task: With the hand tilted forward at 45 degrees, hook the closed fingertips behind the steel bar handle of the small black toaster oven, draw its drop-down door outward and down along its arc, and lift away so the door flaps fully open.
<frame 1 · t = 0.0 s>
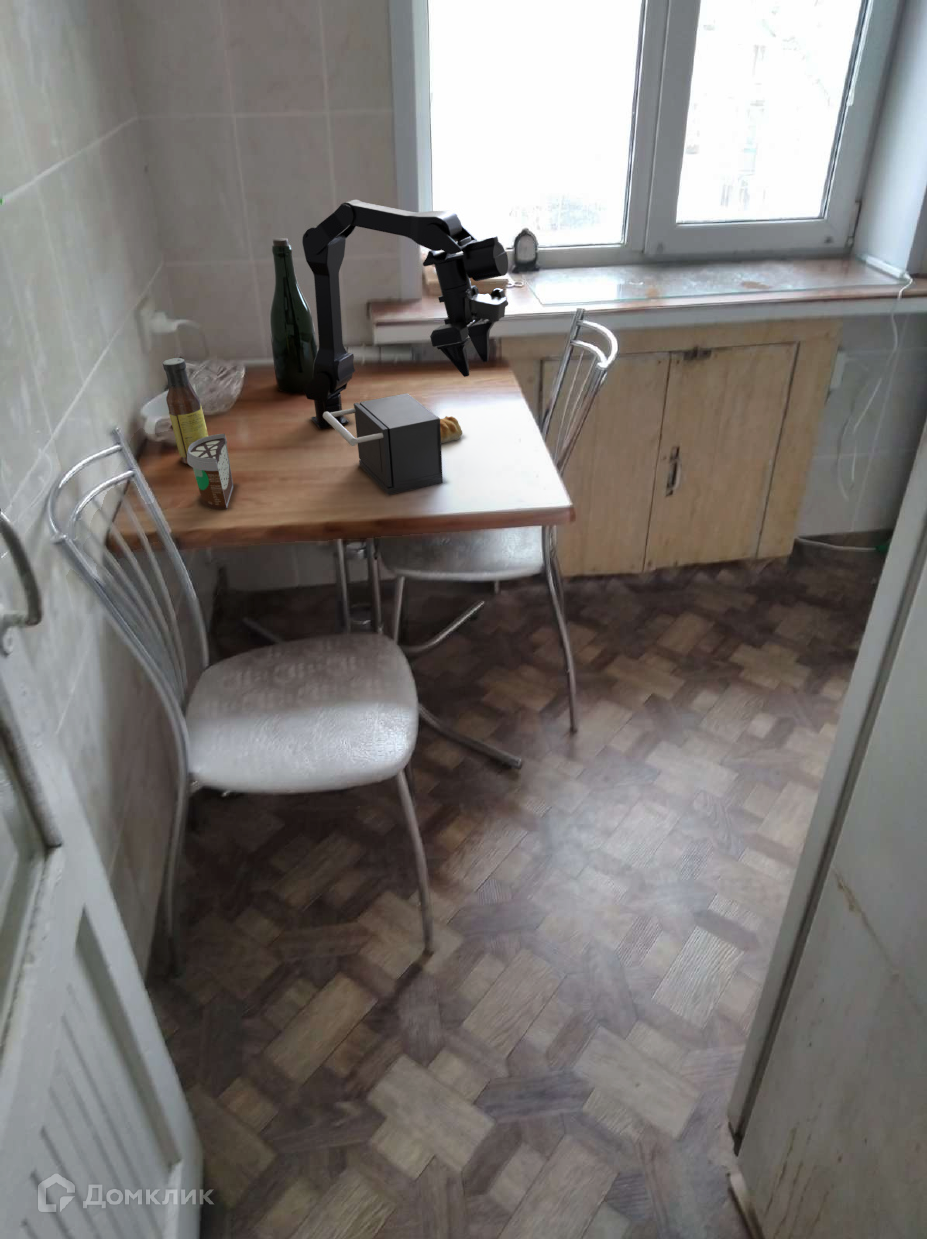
hand: (476, 368, 174), 15 cm above the table, tool pointing down, fingers open, 9 cm apart
oven door: (356, 447, 165), point 7 cm above the table, hinge at 0.0°
food container: (213, 499, 165), on the table
green wine bottle: (299, 387, 214), on the table
oven: (400, 473, 172), on the table
sauce bottle: (196, 460, 180), on the table
pastry: (440, 439, 186), on the table
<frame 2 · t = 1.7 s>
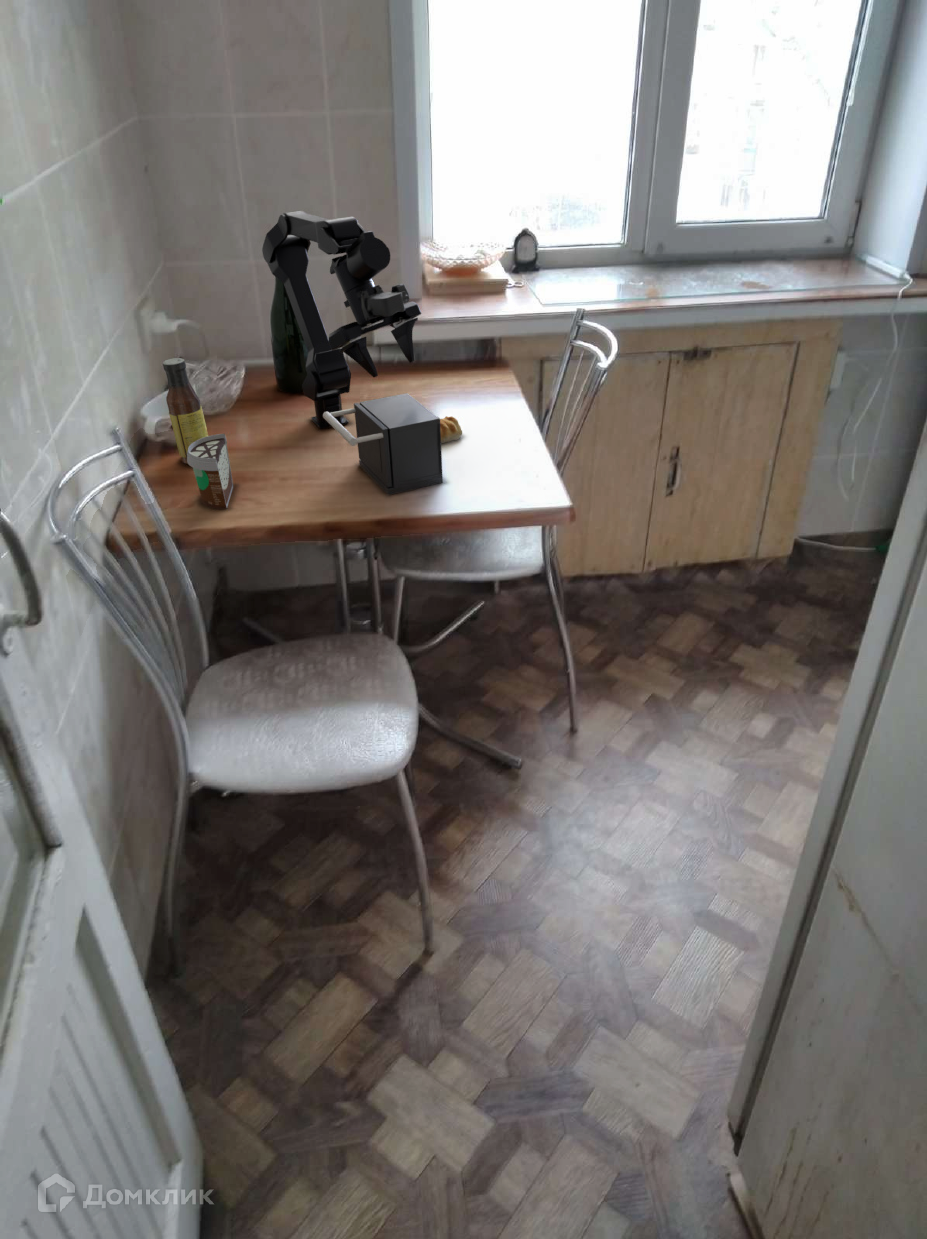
hand: (394, 369, 170), 17 cm above the table, tool tilted 30°, fingers open, 9 cm apart
nothing on the table moved.
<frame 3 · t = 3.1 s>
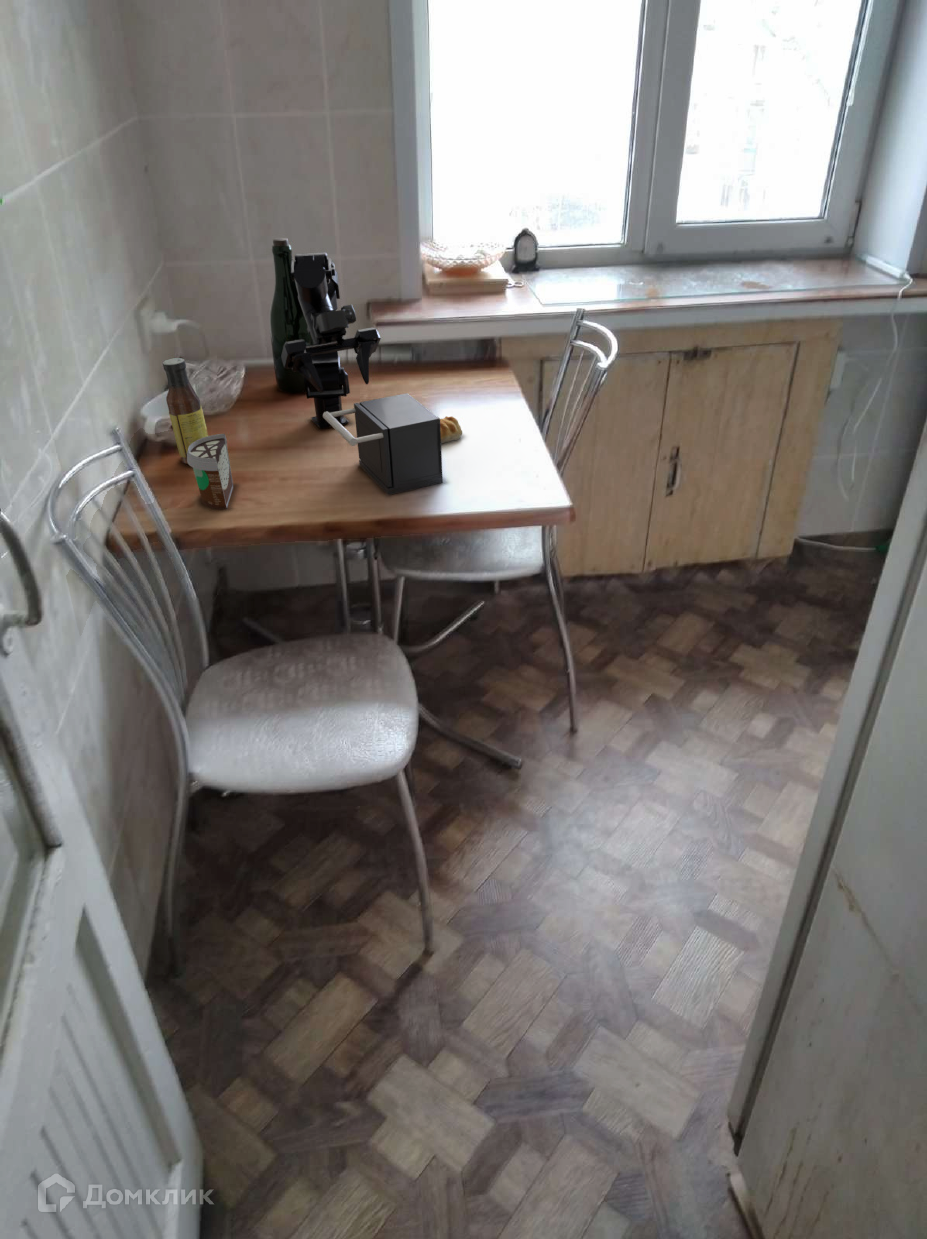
hand: (345, 387, 173), 14 cm above the table, tool tilted 45°, fingers open, 9 cm apart
nothing on the table moved.
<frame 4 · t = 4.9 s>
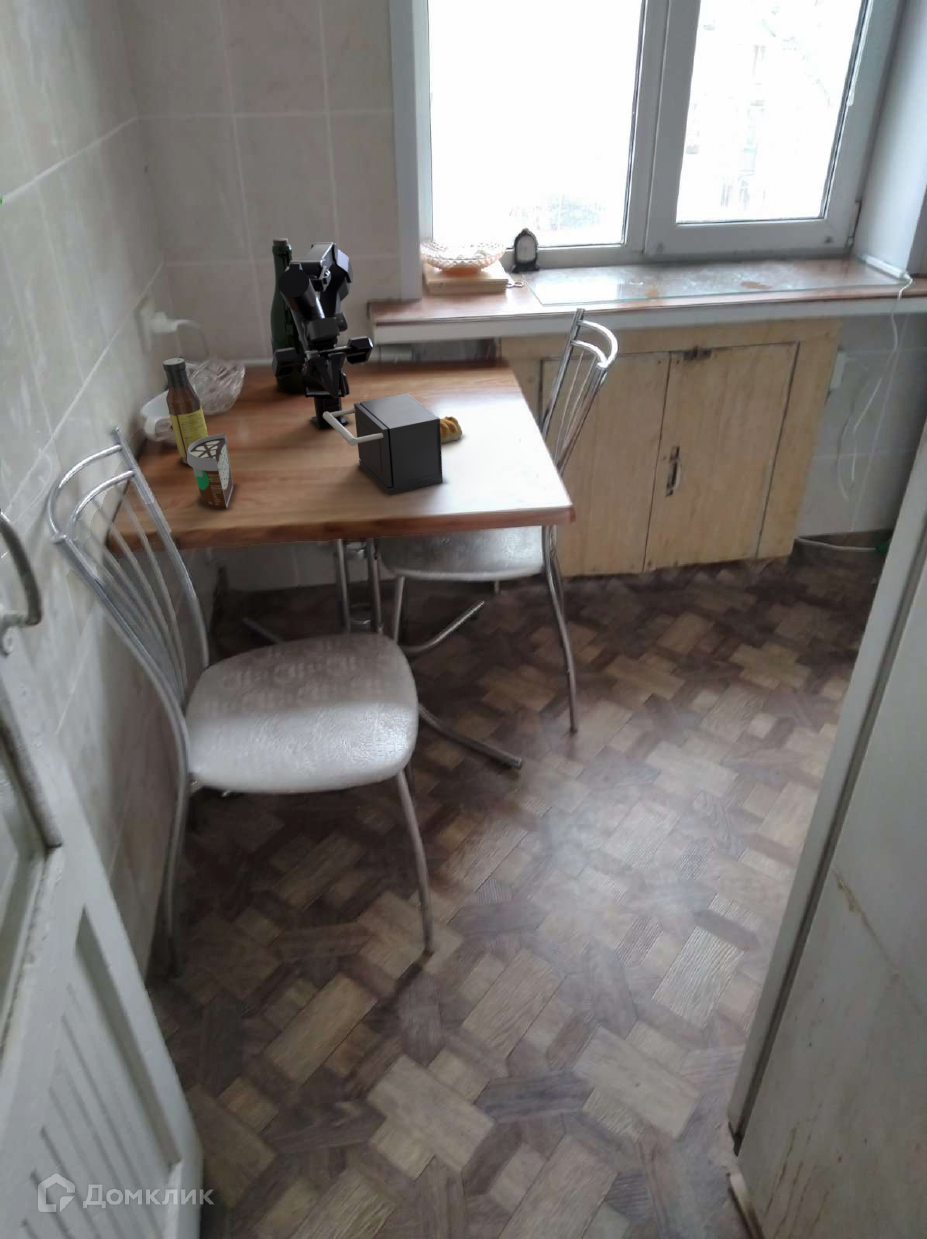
hand: (336, 396, 170), 13 cm above the table, tool tilted 45°, fingers closed
nothing on the table moved.
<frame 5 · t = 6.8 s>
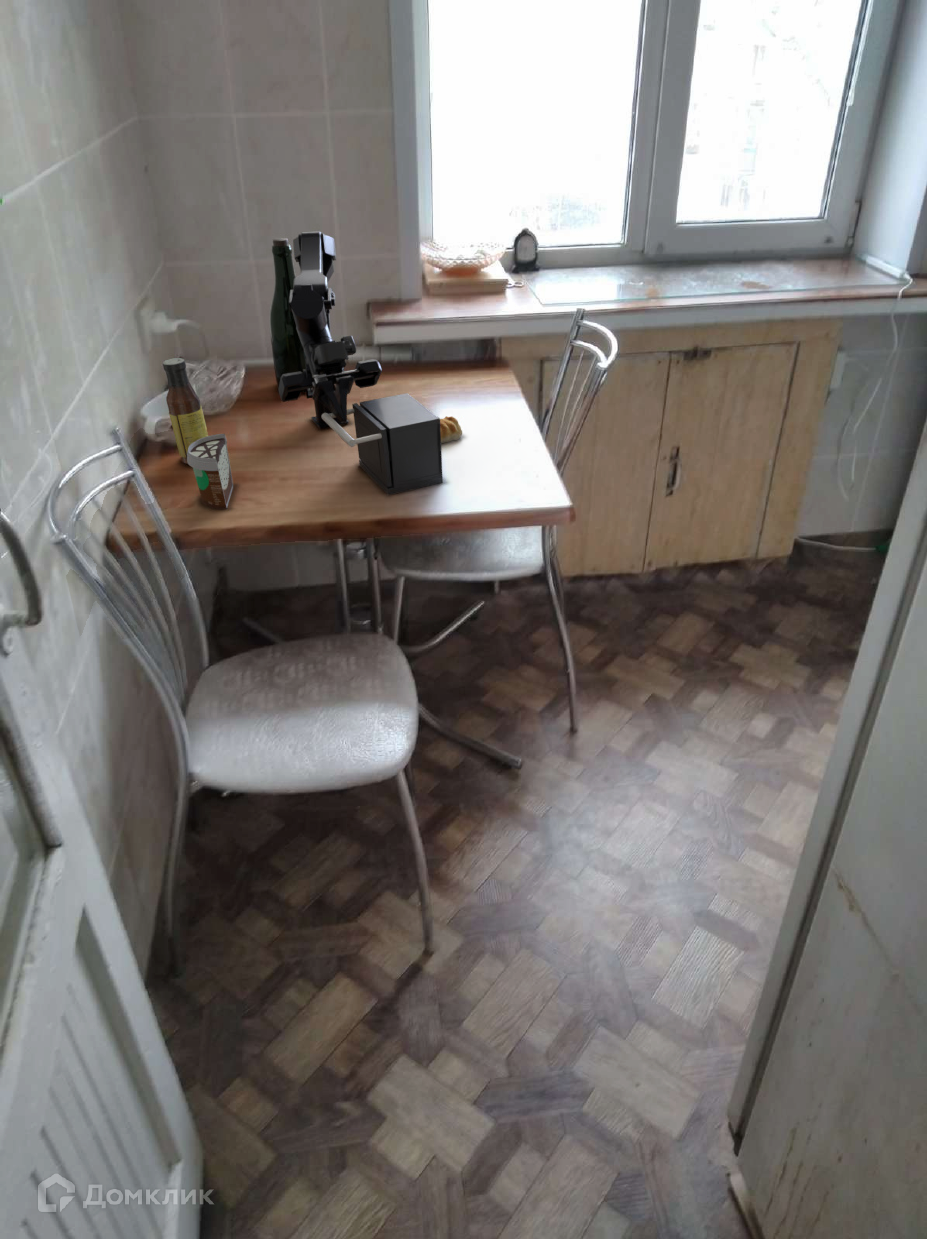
hand: (344, 421, 166), 11 cm above the table, tool tilted 45°, fingers closed
oven door: (356, 448, 165), point 7 cm above the table, hinge at 1.6°, touching gripper
everything else where it was.
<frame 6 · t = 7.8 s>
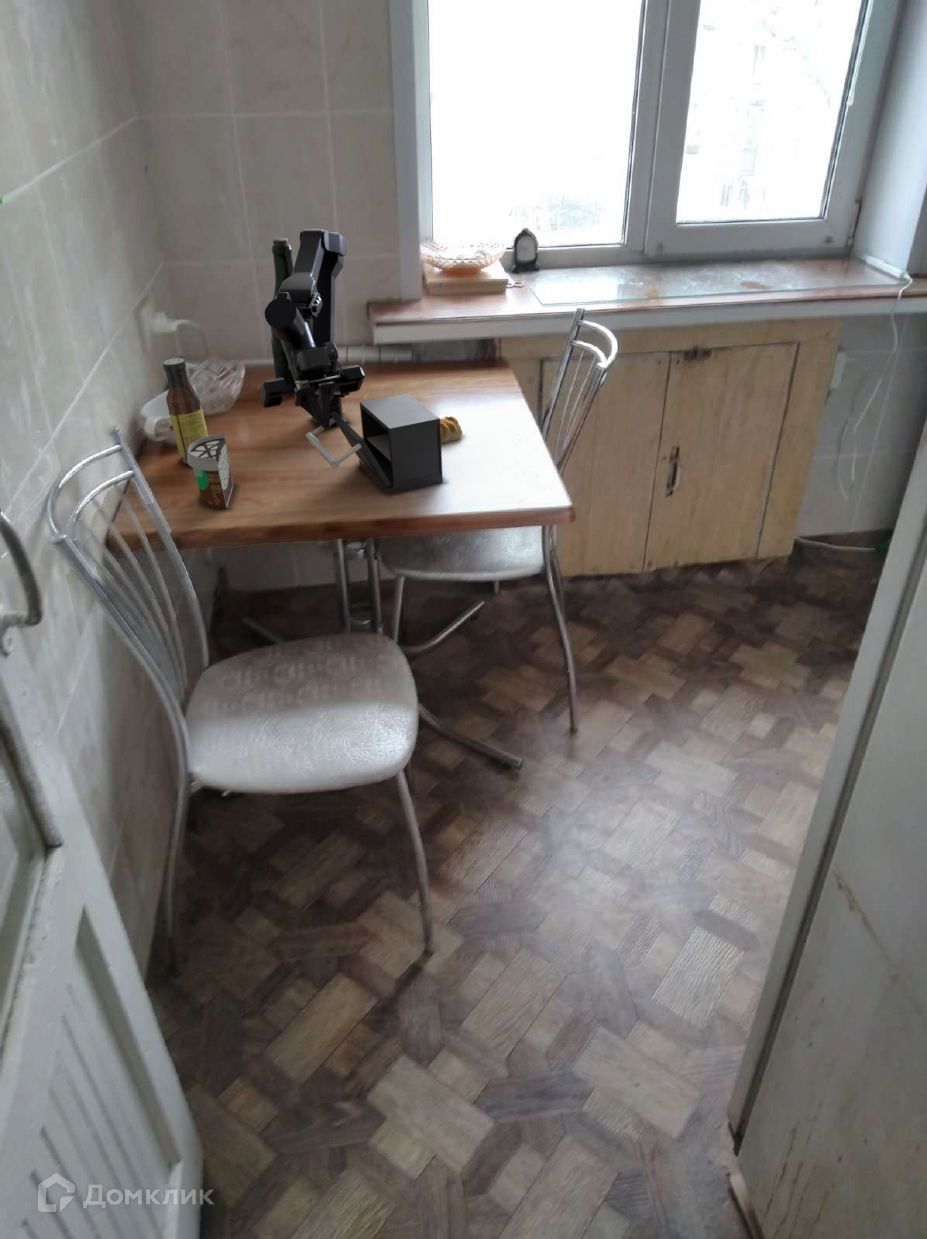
hand: (326, 427, 165), 10 cm above the table, tool tilted 45°, fingers closed
oven door: (346, 458, 165), point 5 cm above the table, hinge at 25.6°
everything else where it was.
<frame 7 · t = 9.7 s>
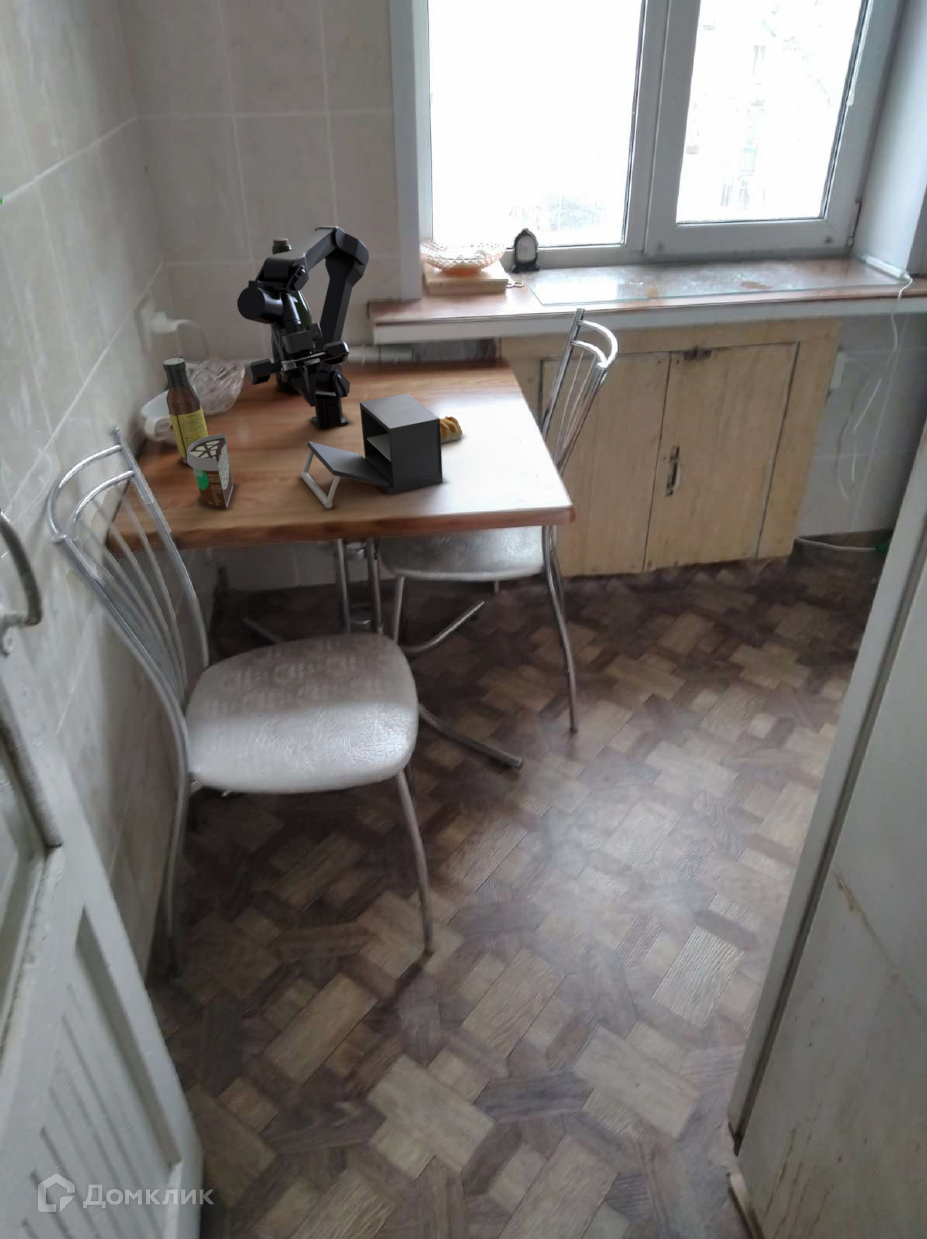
hand: (313, 406, 171), 11 cm above the table, tool tilted 35°, fingers closed
oven door: (341, 479, 167), point 1 cm above the table, hinge at 64.8°
everything else where it was.
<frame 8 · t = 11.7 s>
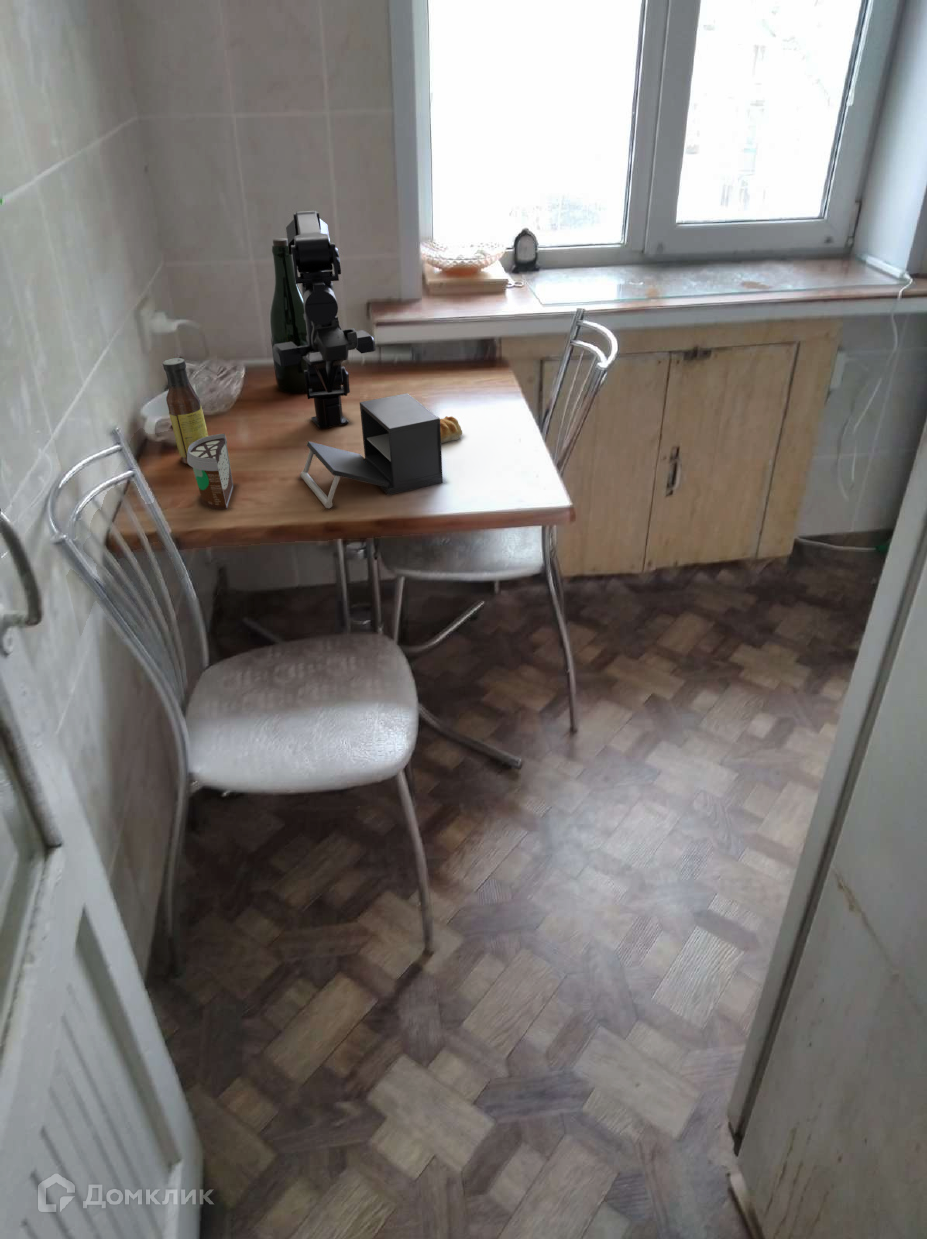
hand: (329, 392, 176), 12 cm above the table, tool pointing down, fingers closed
nothing on the table moved.
at the end: oven door at +65° (first picture: +0°); oven door reached +65° during the clip, +65° at the end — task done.
